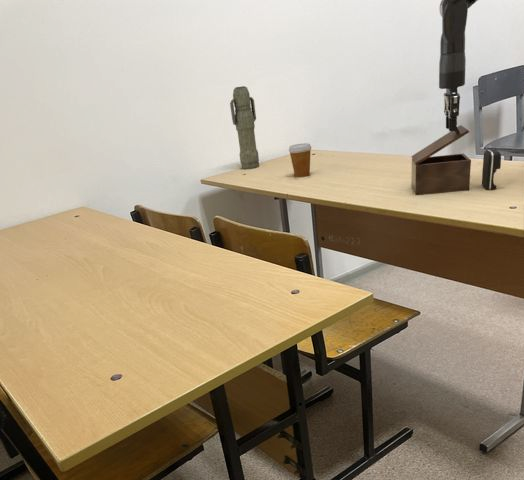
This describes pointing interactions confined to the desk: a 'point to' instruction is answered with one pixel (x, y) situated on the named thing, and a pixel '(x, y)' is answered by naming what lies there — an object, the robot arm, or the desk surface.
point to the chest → (441, 174)
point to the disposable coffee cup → (300, 159)
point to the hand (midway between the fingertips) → (451, 129)
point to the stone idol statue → (245, 126)
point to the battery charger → (490, 168)
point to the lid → (439, 144)
